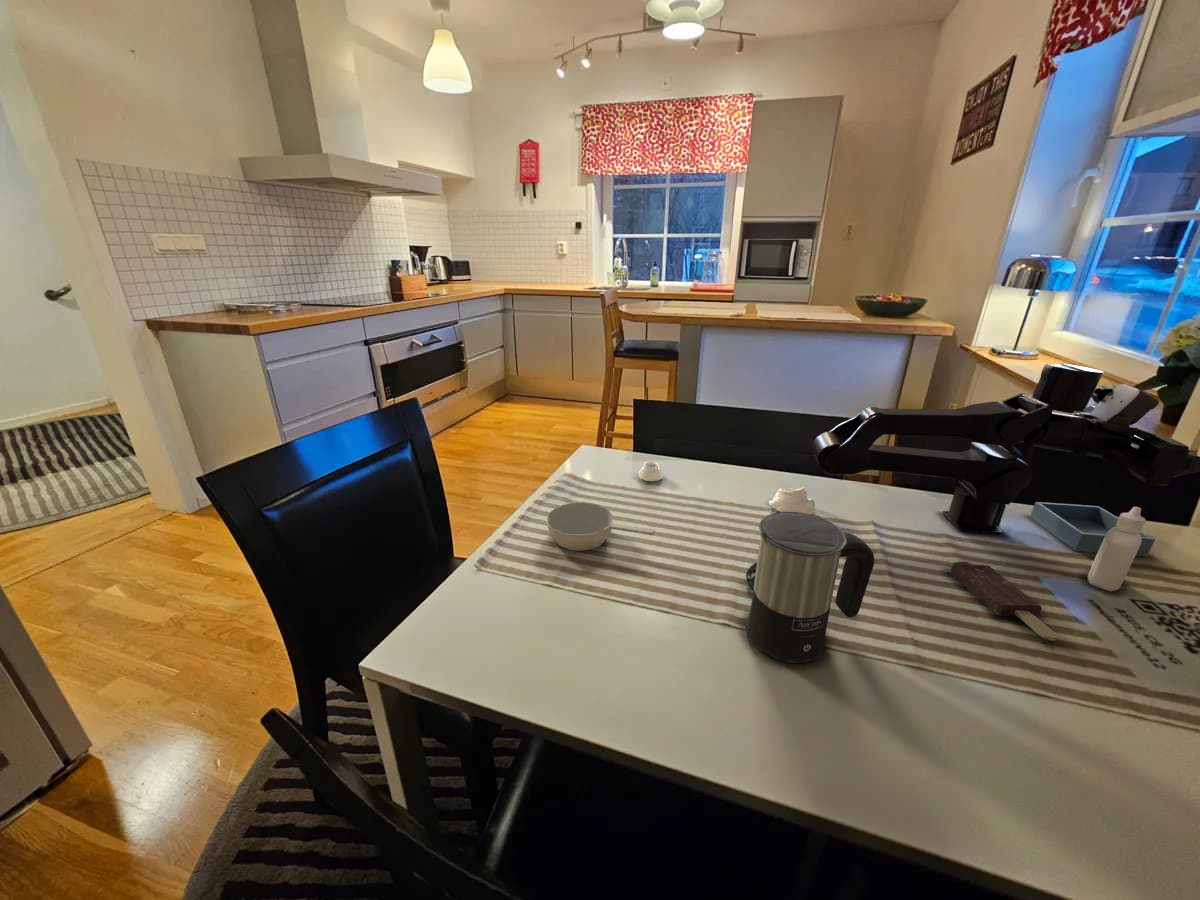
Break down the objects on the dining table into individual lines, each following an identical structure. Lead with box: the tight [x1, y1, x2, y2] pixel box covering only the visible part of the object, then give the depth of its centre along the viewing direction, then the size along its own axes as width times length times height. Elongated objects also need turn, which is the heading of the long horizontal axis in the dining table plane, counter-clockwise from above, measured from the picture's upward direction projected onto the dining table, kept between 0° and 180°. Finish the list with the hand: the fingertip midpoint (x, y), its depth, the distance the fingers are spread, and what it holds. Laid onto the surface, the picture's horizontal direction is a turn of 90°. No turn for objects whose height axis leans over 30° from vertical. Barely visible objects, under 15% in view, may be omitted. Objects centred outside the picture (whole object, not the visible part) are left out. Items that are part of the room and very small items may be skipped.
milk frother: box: [745, 511, 875, 664], centre depth 61 cm, size 14×16×15 cm
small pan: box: [546, 501, 656, 552], centre depth 79 cm, size 11×18×4 cm, turn 68°
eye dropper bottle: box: [1087, 506, 1147, 592], centre depth 68 cm, size 4×6×12 cm
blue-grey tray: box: [1029, 501, 1156, 557], centre depth 82 cm, size 10×11×3 cm
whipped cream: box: [768, 486, 816, 515], centre depth 89 cm, size 8×7×5 cm
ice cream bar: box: [949, 561, 1058, 642], centre depth 65 cm, size 5×2×15 cm
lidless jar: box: [638, 461, 664, 482], centre depth 102 cm, size 5×3×5 cm
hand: (1187, 452), depth 74 cm, fingers open, 9 cm apart
